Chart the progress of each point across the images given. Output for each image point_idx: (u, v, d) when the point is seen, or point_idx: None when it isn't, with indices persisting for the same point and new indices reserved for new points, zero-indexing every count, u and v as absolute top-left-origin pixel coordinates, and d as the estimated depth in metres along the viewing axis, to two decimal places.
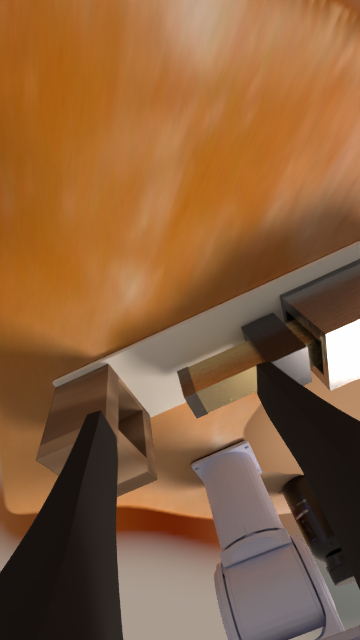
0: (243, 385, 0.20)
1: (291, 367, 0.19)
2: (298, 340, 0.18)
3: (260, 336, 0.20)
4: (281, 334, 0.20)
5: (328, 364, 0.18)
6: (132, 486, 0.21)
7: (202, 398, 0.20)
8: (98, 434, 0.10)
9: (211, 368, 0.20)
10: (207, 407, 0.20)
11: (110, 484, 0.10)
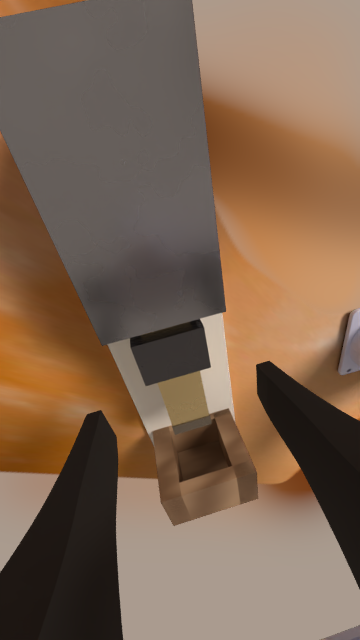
0: (183, 388, 0.17)
1: (162, 359, 0.14)
2: None
3: None
4: None
5: (164, 327, 0.12)
6: (251, 484, 0.22)
7: (184, 421, 0.19)
8: (98, 434, 0.10)
9: None
10: (200, 416, 0.19)
11: (110, 484, 0.10)
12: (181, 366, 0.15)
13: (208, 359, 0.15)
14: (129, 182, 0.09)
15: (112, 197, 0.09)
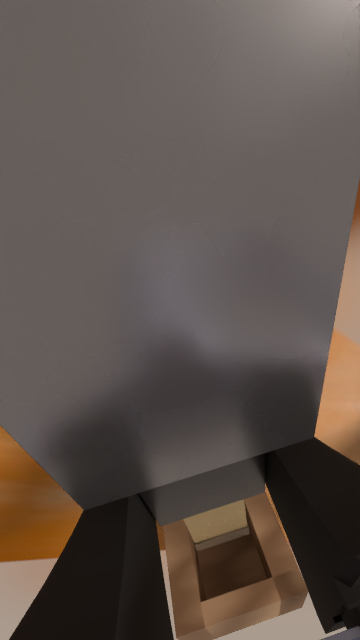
0: None
1: (189, 495, 0.08)
2: None
3: None
4: None
5: (200, 471, 0.07)
6: (297, 600, 0.16)
7: (212, 537, 0.13)
8: None
9: None
10: (235, 529, 0.13)
11: None
12: (219, 497, 0.09)
13: (263, 484, 0.09)
14: (143, 220, 0.03)
15: (97, 261, 0.03)
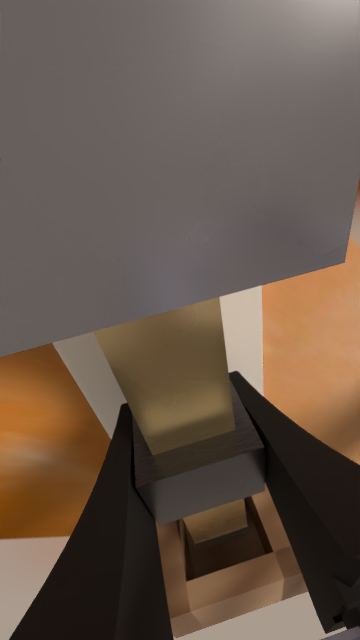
0: None
1: (188, 494, 0.08)
2: (135, 462, 0.08)
3: None
4: None
5: (152, 312, 0.04)
6: None
7: (211, 536, 0.13)
8: None
9: None
10: (235, 528, 0.13)
11: None
12: (219, 496, 0.09)
13: (263, 483, 0.09)
14: None
15: None
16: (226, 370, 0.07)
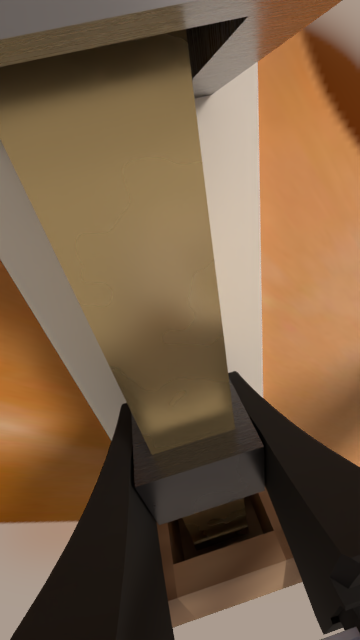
0: None
1: (188, 493, 0.08)
2: (134, 461, 0.08)
3: None
4: None
5: (63, 20, 0.02)
6: None
7: (211, 536, 0.13)
8: None
9: None
10: (234, 528, 0.13)
11: None
12: (218, 496, 0.09)
13: (262, 482, 0.09)
14: None
15: None
16: (226, 369, 0.07)
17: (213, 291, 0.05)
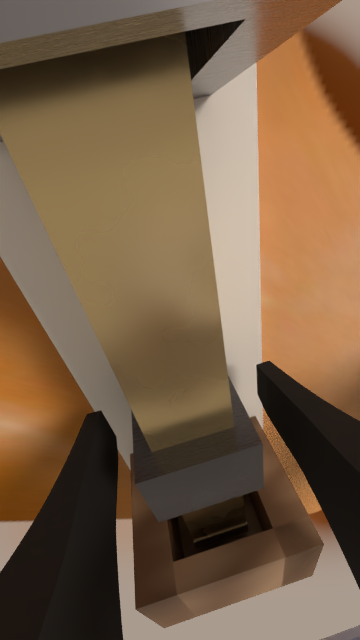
0: None
1: (187, 491, 0.08)
2: None
3: None
4: None
5: (66, 24, 0.02)
6: (308, 561, 0.12)
7: (211, 534, 0.13)
8: (98, 434, 0.10)
9: None
10: (234, 526, 0.13)
11: (110, 484, 0.10)
12: (218, 493, 0.09)
13: (261, 480, 0.09)
14: None
15: None
16: (225, 367, 0.07)
17: (212, 289, 0.06)
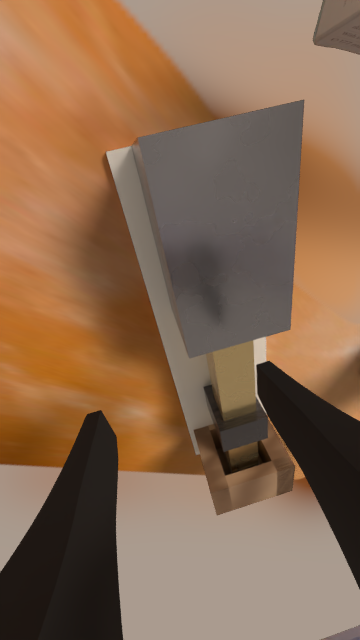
0: (244, 448, 0.24)
1: (237, 436, 0.21)
2: (216, 423, 0.21)
3: (212, 418, 0.24)
4: (213, 415, 0.22)
5: (239, 343, 0.15)
6: (288, 477, 0.24)
7: (240, 468, 0.25)
8: (98, 434, 0.10)
9: None
10: (252, 464, 0.25)
11: (110, 484, 0.10)
12: (249, 439, 0.21)
13: (267, 433, 0.22)
14: (235, 234, 0.11)
15: (221, 246, 0.12)
16: (254, 388, 0.19)
17: (252, 366, 0.18)
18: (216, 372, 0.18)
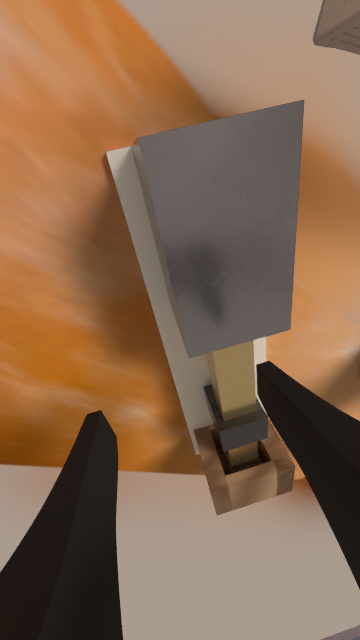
0: (244, 448, 0.24)
1: (237, 436, 0.21)
2: (216, 423, 0.21)
3: (212, 418, 0.24)
4: (213, 415, 0.22)
5: (239, 343, 0.15)
6: (288, 477, 0.24)
7: (240, 468, 0.25)
8: (98, 434, 0.10)
9: None
10: (252, 464, 0.25)
11: (110, 484, 0.10)
12: (249, 439, 0.21)
13: (267, 433, 0.22)
14: (235, 234, 0.11)
15: (221, 246, 0.12)
16: (254, 388, 0.19)
17: (252, 366, 0.18)
18: (216, 372, 0.18)
